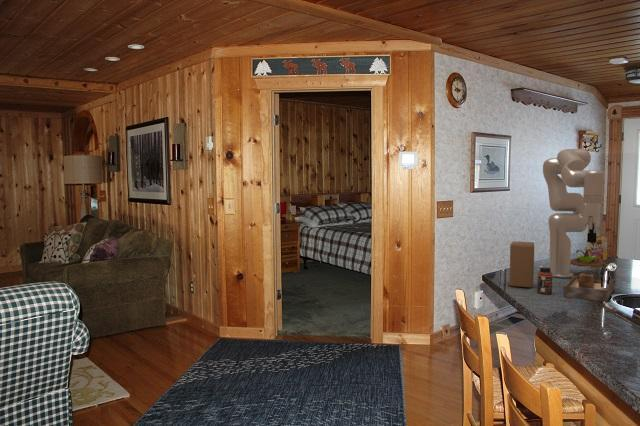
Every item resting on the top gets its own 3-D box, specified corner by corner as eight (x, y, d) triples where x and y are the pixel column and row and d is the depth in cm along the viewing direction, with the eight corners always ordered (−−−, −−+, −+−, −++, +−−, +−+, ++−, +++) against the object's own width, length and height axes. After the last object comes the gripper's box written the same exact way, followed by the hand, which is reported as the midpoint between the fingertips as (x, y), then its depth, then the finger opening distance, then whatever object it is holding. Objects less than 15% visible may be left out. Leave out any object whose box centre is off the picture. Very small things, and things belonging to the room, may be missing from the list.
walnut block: (578, 289, 210) (578, 275, 209) (580, 287, 214) (580, 273, 213) (591, 290, 207) (592, 276, 206) (593, 288, 211) (594, 274, 210)
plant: (562, 266, 281) (563, 247, 280) (569, 262, 296) (570, 243, 296) (602, 270, 269) (603, 250, 268) (608, 265, 284) (608, 246, 284)
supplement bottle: (545, 295, 212) (546, 268, 212) (533, 292, 218) (534, 266, 217) (555, 293, 215) (555, 267, 214) (543, 290, 220) (543, 265, 220)
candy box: (588, 261, 298) (588, 235, 297) (592, 260, 300) (593, 235, 299) (602, 263, 290) (603, 237, 289) (607, 262, 292) (608, 236, 291)
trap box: (563, 296, 209) (563, 286, 209) (573, 284, 232) (574, 275, 232) (607, 301, 200) (607, 290, 200) (613, 288, 223) (613, 279, 223)
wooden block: (533, 284, 235) (534, 242, 233) (532, 288, 226) (533, 244, 224) (510, 282, 239) (511, 241, 238) (509, 286, 230) (510, 243, 228)
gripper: (585, 198, 221) (584, 239, 222) (580, 200, 209) (579, 243, 210) (605, 199, 217) (603, 240, 218) (600, 200, 204) (599, 245, 206)
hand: (591, 242), depth 214 cm, fingers closed
